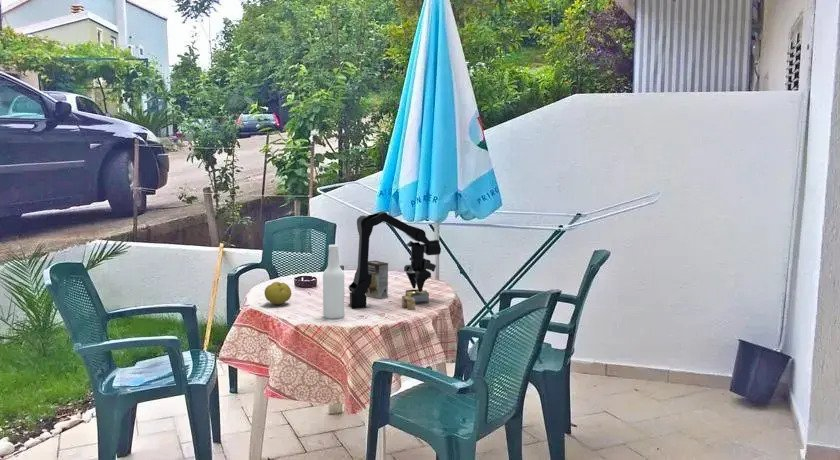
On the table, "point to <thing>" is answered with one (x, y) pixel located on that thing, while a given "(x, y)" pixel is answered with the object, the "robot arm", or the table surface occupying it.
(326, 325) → the table surface
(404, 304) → the block
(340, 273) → the alcohol
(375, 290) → the coffee box
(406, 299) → the bearing block
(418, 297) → the v block
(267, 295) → the fruit
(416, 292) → the axle
